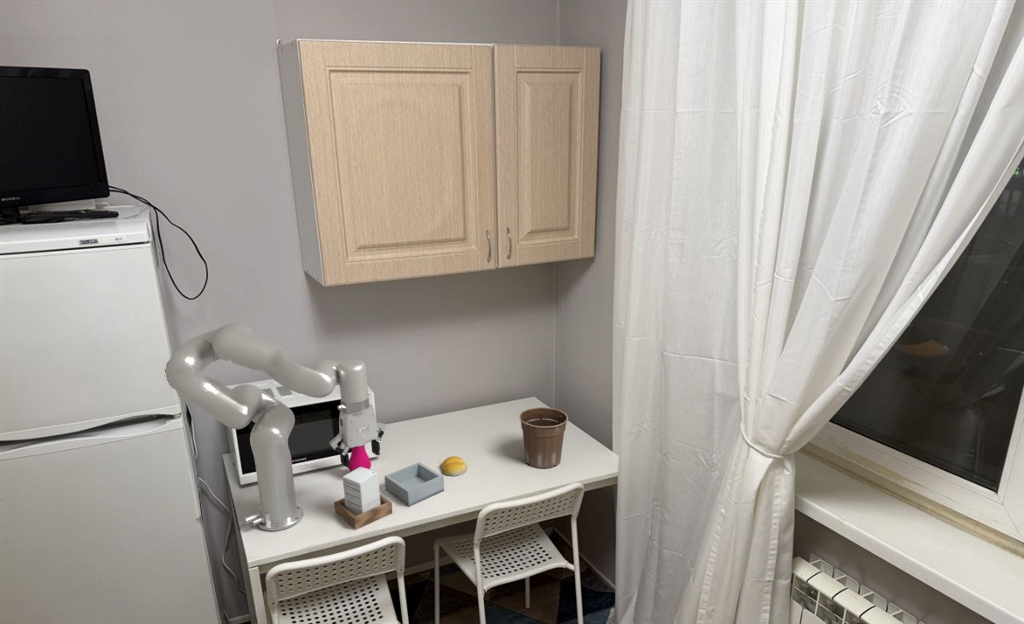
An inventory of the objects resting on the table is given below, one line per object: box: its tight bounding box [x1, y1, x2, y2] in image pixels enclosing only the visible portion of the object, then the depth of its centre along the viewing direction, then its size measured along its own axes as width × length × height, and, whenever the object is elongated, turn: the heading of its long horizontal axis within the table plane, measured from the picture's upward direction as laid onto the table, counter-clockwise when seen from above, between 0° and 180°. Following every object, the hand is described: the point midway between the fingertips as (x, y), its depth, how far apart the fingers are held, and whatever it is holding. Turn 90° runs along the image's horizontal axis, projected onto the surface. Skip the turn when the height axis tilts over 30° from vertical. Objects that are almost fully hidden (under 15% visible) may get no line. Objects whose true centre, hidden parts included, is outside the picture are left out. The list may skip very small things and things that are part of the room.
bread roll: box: [441, 455, 468, 477], centre depth 211 cm, size 8×9×4 cm
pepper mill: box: [347, 443, 372, 473], centre depth 205 cm, size 7×7×20 cm
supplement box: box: [342, 467, 381, 516], centre depth 185 cm, size 7×7×13 cm
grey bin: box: [384, 461, 445, 508], centre depth 198 cm, size 13×13×5 cm
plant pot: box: [518, 406, 569, 469], centre depth 215 cm, size 16×16×16 cm
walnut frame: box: [333, 494, 393, 531], centre depth 187 cm, size 12×12×4 cm
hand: (361, 459), depth 183 cm, fingers open, 9 cm apart
